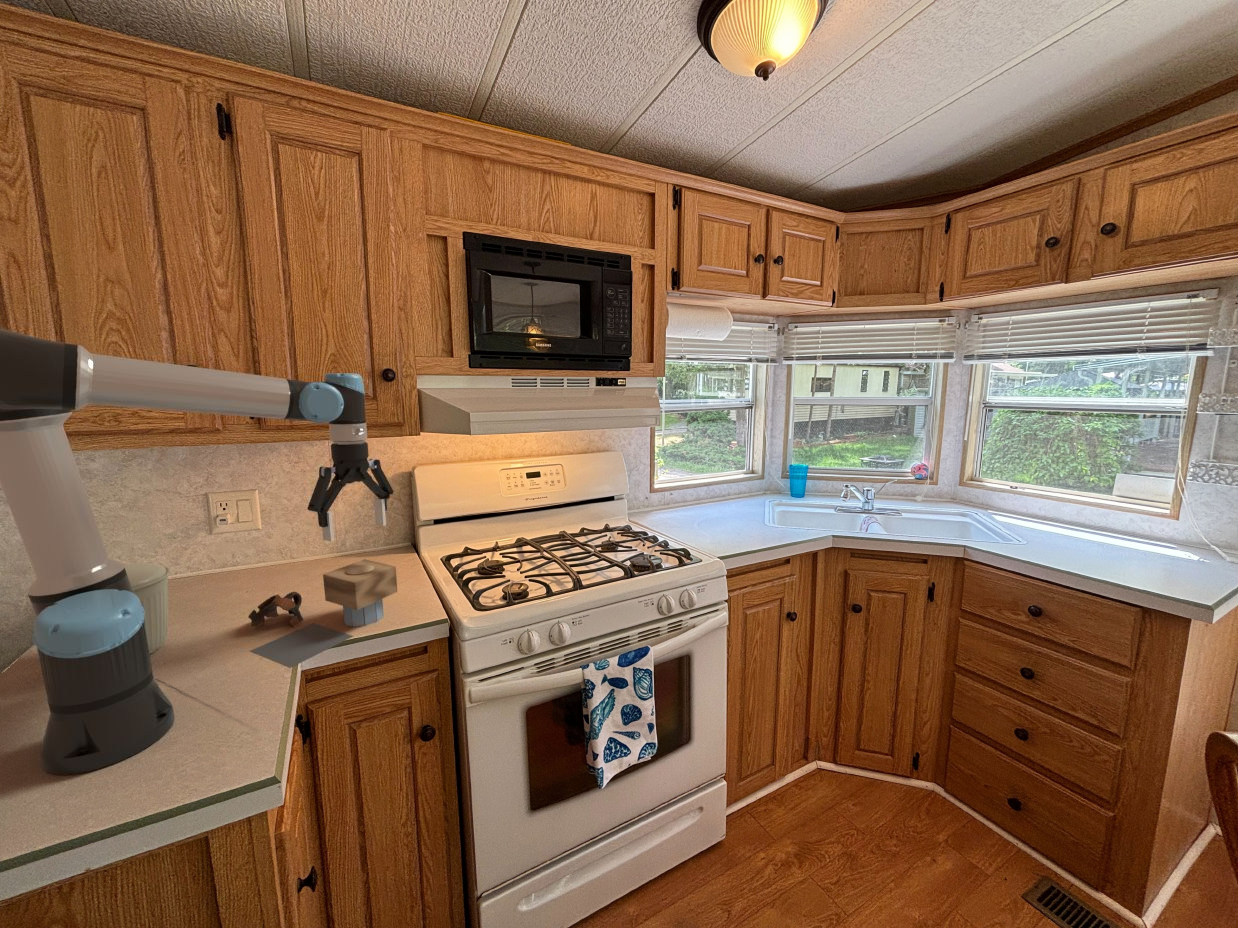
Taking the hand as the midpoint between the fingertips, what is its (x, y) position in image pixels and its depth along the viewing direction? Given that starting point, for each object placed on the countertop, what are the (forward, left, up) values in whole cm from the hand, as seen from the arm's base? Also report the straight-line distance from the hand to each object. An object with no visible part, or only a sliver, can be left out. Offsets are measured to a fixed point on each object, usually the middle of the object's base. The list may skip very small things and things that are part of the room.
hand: (356, 532), depth 119 cm
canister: (-33, +31, -22) cm, 50 cm away
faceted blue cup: (0, 0, -22) cm, 22 cm away
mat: (-14, +1, -22) cm, 26 cm away
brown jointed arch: (-10, +16, -22) cm, 29 cm away
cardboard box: (0, 0, -16) cm, 16 cm away
